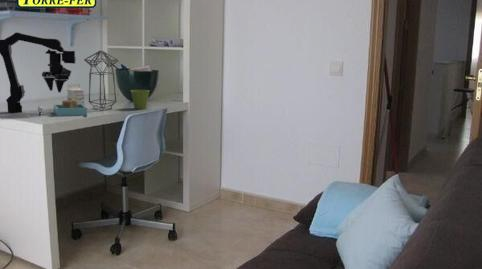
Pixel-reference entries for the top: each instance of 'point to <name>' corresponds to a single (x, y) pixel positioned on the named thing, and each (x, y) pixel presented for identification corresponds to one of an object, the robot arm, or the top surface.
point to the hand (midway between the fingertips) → (55, 91)
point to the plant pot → (140, 98)
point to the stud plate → (40, 113)
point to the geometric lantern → (100, 76)
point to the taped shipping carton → (69, 104)
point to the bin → (70, 111)
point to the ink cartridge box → (75, 93)
